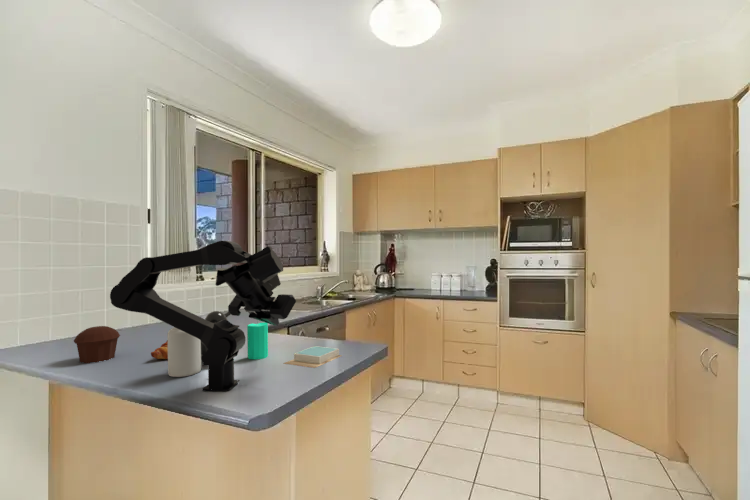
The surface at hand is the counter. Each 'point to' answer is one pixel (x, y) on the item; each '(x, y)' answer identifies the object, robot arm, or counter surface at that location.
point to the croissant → (161, 352)
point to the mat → (307, 364)
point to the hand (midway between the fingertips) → (277, 324)
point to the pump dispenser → (214, 318)
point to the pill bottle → (183, 353)
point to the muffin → (96, 344)
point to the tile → (316, 354)
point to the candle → (257, 340)
